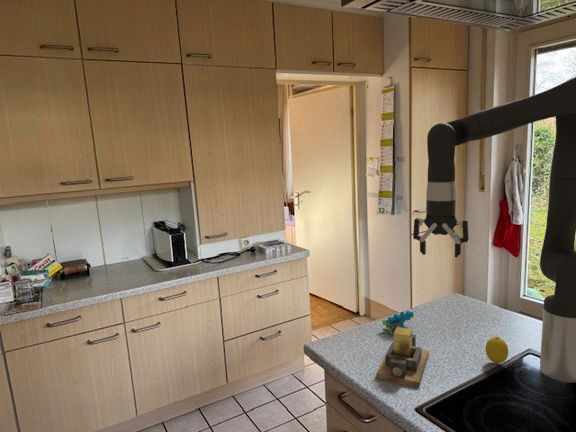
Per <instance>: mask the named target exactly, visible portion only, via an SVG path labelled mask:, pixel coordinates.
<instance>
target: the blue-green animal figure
mask: <svg viewBox="0 0 576 432" xmlns="http://www.w3.org/2000/svg"><path fill="white" fill-rule="evenodd" d="M414 315H415V313H414V312H413V311H410V310H407V311H401V312H399V314H398V313H396V314H393V315H392V316H389V317H388V318H387V319H385V320H382V324H383V326H385V327H386V329H388V331H389V334H390V335H394V332H393V331H392V329H391V328H393V327H396V326H397V327H398V326H400V327H401V328H406V327H405V325H404V323H406V321H411V319H412V318H414V317H415V316H414Z"/></svg>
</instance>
